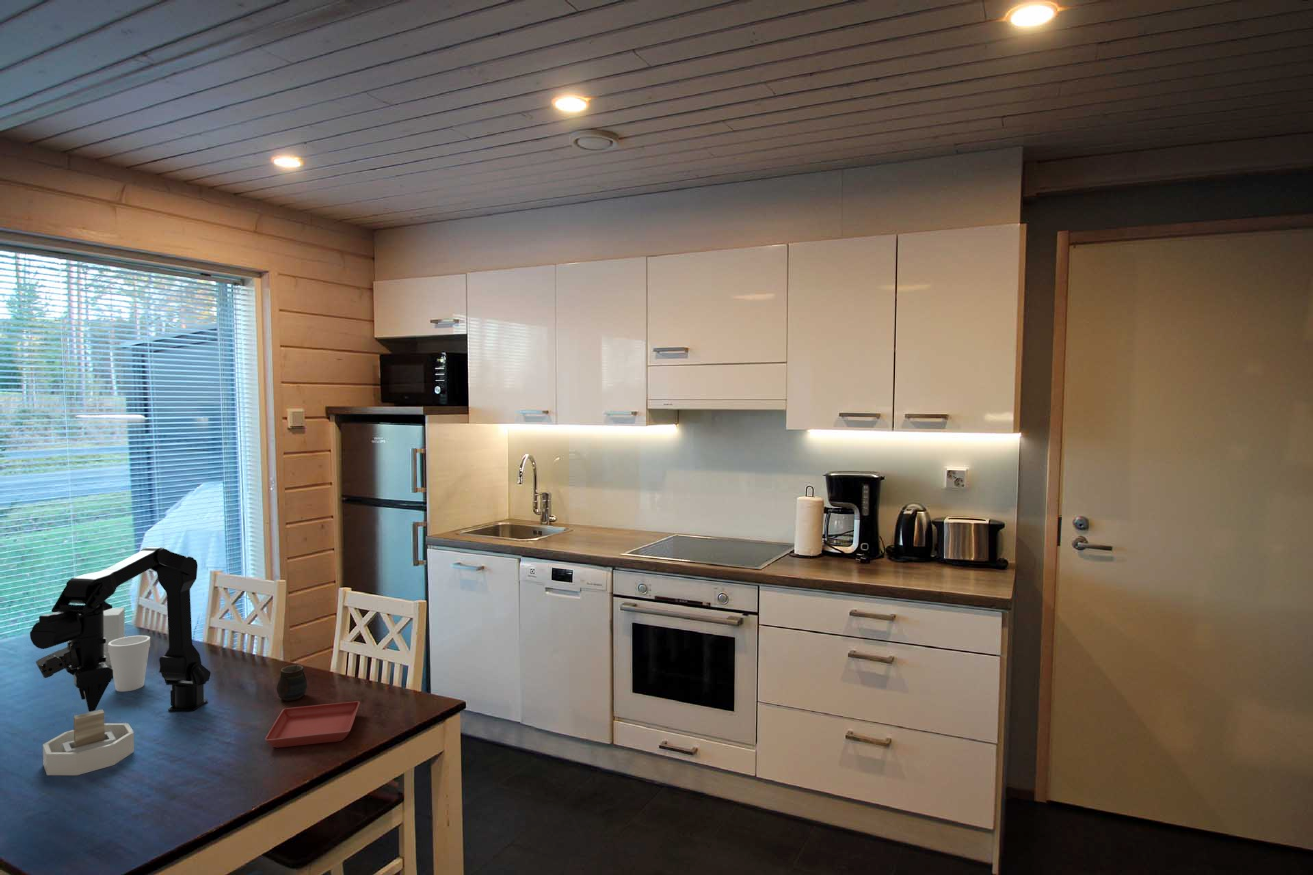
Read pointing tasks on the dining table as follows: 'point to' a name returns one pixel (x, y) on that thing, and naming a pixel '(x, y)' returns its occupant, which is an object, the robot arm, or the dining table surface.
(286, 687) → the mate gourd
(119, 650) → the foam cup
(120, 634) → the skincare box
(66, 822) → the dining table surface
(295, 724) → the plant saucer
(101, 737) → the wood grain block
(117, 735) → the octagonal boat dish
